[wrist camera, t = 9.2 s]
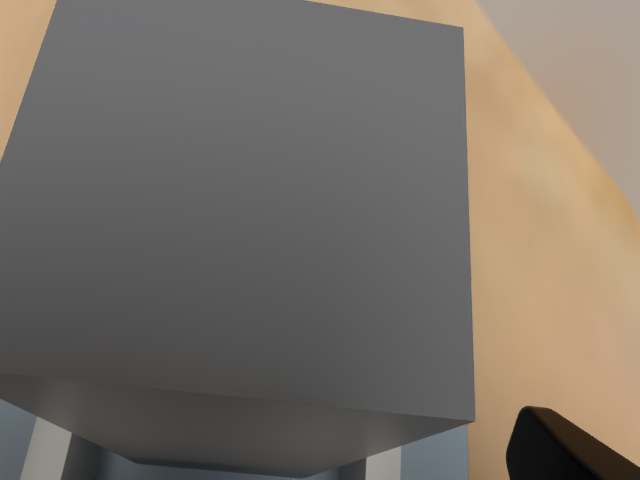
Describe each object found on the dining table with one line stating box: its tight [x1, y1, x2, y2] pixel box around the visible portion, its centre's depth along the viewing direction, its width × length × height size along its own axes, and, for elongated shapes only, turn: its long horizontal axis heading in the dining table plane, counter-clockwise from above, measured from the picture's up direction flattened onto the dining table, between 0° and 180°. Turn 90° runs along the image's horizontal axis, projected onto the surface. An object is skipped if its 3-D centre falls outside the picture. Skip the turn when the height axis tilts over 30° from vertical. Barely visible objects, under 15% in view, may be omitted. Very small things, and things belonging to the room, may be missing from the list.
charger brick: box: [0, 0, 475, 479], centre depth 12 cm, size 4×4×12 cm
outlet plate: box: [0, 399, 468, 480], centre depth 16 cm, size 20×14×4 cm
